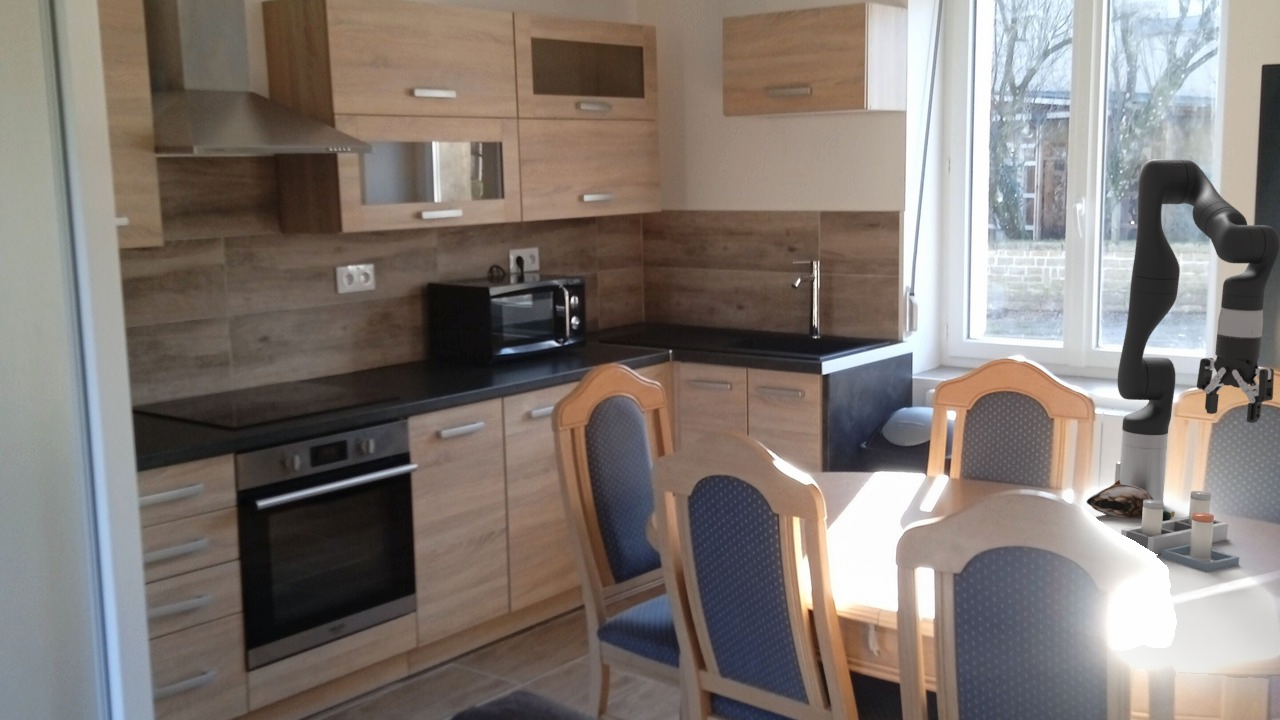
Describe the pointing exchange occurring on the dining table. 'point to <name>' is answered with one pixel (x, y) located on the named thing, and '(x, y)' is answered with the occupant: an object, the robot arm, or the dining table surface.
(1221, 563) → the tray
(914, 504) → the dining table surface
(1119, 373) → the robot arm
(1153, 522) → the fuse
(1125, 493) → the decorative duck model
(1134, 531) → the grey compartment rack
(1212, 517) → the cylinder
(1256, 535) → the dining table surface
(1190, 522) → the white domed part
